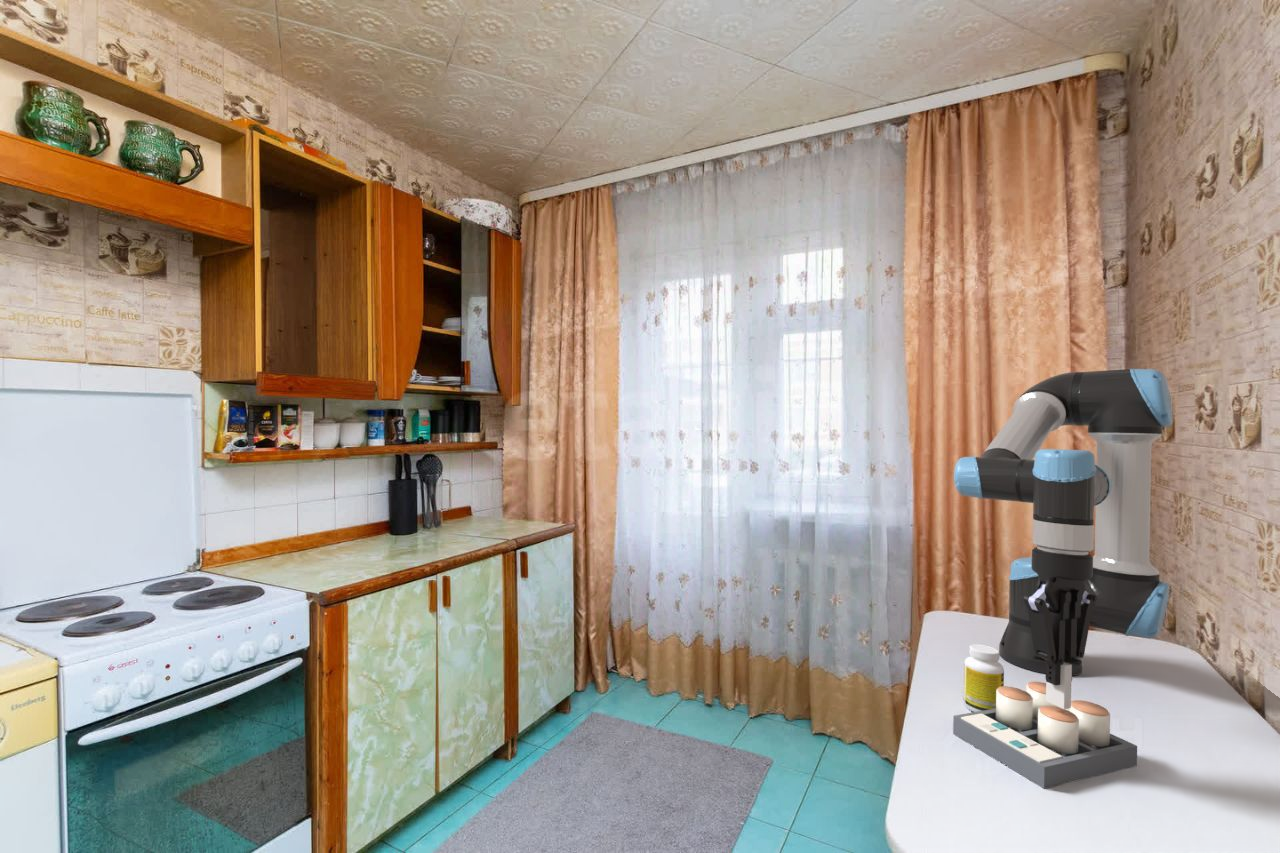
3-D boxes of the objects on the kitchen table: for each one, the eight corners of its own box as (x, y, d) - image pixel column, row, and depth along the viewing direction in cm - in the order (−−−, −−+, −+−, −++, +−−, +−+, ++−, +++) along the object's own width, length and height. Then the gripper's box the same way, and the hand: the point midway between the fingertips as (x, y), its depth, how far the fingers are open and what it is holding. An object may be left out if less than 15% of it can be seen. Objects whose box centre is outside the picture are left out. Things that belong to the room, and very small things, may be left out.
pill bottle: (1009, 720, 99) (1010, 657, 99) (970, 715, 100) (972, 653, 100) (994, 703, 105) (996, 644, 105) (958, 699, 106) (959, 640, 106)
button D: (1052, 733, 89) (1052, 703, 89) (1086, 750, 84) (1087, 718, 84) (1029, 738, 87) (1030, 707, 87) (1063, 756, 83) (1063, 723, 83)
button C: (1010, 712, 96) (1010, 684, 96) (1039, 727, 91) (1040, 697, 91) (988, 716, 94) (989, 687, 94) (1017, 731, 89) (1018, 701, 89)
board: (1038, 717, 100) (1039, 698, 100) (1136, 765, 86) (1137, 743, 86) (953, 733, 93) (953, 713, 93) (1044, 788, 79) (1044, 764, 79)
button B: (1082, 727, 91) (1083, 697, 91) (1117, 743, 86) (1118, 712, 87) (1061, 732, 90) (1061, 701, 90) (1095, 748, 85) (1096, 716, 85)
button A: (1039, 707, 98) (1040, 679, 98) (1069, 721, 93) (1070, 692, 93) (1018, 711, 96) (1019, 682, 96) (1048, 725, 91) (1049, 696, 92)
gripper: (1065, 543, 92) (1062, 689, 91) (1007, 546, 88) (1003, 698, 87) (1117, 553, 85) (1114, 710, 84) (1057, 556, 81) (1053, 722, 80)
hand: (1058, 704), depth 86 cm, fingers closed
